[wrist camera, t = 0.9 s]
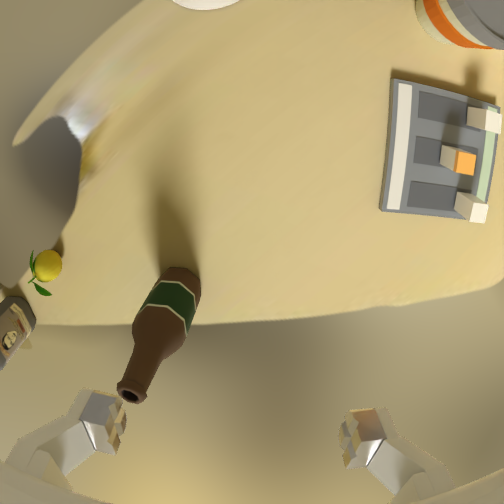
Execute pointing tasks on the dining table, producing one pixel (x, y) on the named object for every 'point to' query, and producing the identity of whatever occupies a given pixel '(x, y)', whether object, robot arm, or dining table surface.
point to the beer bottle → (159, 329)
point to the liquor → (14, 326)
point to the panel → (432, 150)
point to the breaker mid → (457, 160)
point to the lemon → (45, 268)
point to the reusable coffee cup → (463, 22)
